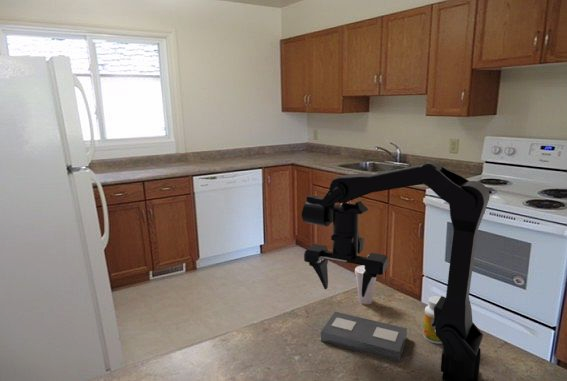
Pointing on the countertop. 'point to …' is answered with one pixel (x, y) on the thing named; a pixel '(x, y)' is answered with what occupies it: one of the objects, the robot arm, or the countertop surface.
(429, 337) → the supplement bottle
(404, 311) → the countertop surface
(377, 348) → the label box
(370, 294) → the smoothie
